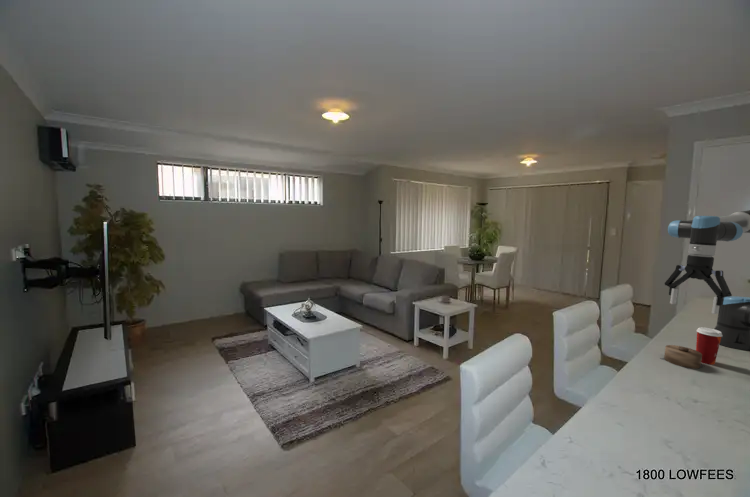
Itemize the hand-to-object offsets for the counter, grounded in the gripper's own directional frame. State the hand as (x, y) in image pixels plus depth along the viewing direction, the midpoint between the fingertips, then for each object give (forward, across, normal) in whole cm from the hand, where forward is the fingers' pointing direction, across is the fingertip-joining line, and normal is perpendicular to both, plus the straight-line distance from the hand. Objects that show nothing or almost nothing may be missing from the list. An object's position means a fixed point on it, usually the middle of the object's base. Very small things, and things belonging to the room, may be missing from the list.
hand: (692, 308), depth 133 cm
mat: (+23, -1, 0) cm, 23 cm away
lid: (+23, -1, 0) cm, 23 cm away
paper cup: (+24, +1, +11) cm, 26 cm away
